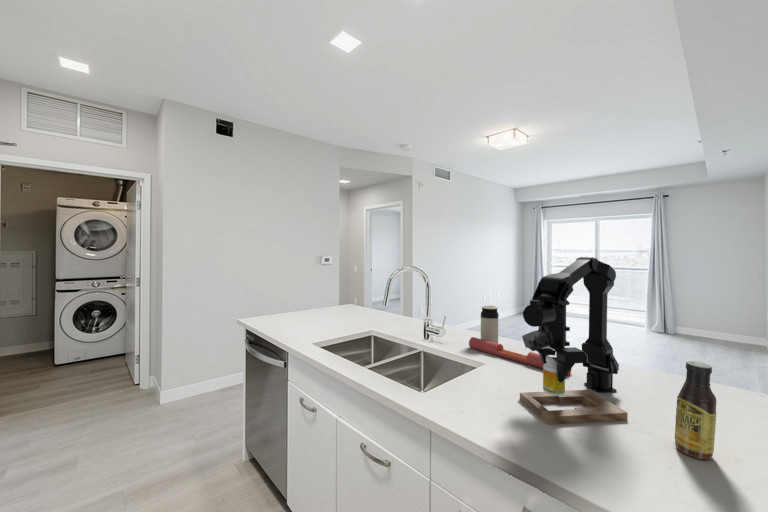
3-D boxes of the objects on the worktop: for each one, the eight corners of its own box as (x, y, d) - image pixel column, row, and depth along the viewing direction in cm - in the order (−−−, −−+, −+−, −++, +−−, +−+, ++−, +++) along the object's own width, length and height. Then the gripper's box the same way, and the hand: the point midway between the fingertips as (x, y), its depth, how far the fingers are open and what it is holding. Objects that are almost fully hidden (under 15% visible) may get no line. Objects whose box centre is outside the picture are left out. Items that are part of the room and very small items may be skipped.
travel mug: (500, 347, 148) (501, 308, 148) (483, 347, 148) (483, 308, 148) (495, 342, 156) (495, 305, 156) (478, 342, 156) (478, 305, 156)
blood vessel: (468, 348, 147) (468, 337, 146) (475, 346, 150) (475, 336, 149) (565, 377, 113) (565, 363, 113) (571, 374, 116) (571, 360, 116)
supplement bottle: (556, 397, 86) (556, 361, 86) (538, 390, 91) (538, 356, 90) (569, 393, 88) (569, 358, 88) (551, 386, 93) (551, 353, 93)
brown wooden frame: (588, 396, 98) (588, 389, 98) (627, 420, 84) (627, 412, 84) (519, 399, 96) (519, 392, 96) (548, 424, 82) (548, 416, 82)
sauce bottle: (666, 444, 74) (668, 358, 73) (691, 443, 74) (693, 357, 74) (697, 463, 67) (698, 369, 67) (724, 462, 68) (726, 368, 67)
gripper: (510, 315, 98) (509, 366, 98) (547, 331, 79) (547, 394, 79) (544, 314, 99) (544, 365, 99) (589, 329, 80) (588, 391, 80)
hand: (553, 377), depth 89 cm, fingers closed on supplement bottle, 5 cm apart
